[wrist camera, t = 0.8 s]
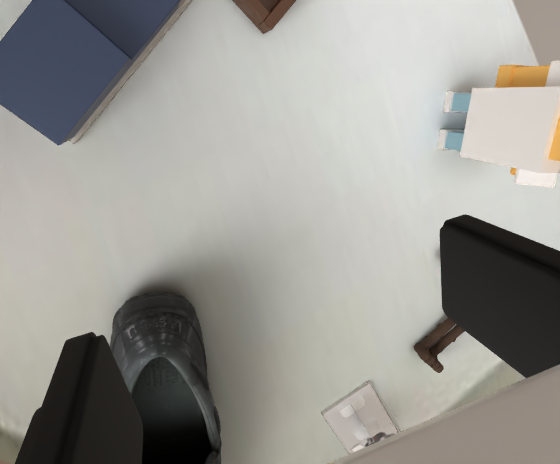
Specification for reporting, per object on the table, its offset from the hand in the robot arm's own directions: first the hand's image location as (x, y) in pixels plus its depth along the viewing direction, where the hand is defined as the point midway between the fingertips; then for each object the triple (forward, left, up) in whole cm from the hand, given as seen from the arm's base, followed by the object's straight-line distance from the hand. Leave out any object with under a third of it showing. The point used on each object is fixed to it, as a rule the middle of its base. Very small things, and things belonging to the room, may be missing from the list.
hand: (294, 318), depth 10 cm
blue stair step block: (-11, +2, -25) cm, 27 cm away
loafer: (+13, -22, -25) cm, 35 cm away
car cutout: (+37, -13, -25) cm, 46 cm away
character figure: (+17, +19, -25) cm, 36 cm away
